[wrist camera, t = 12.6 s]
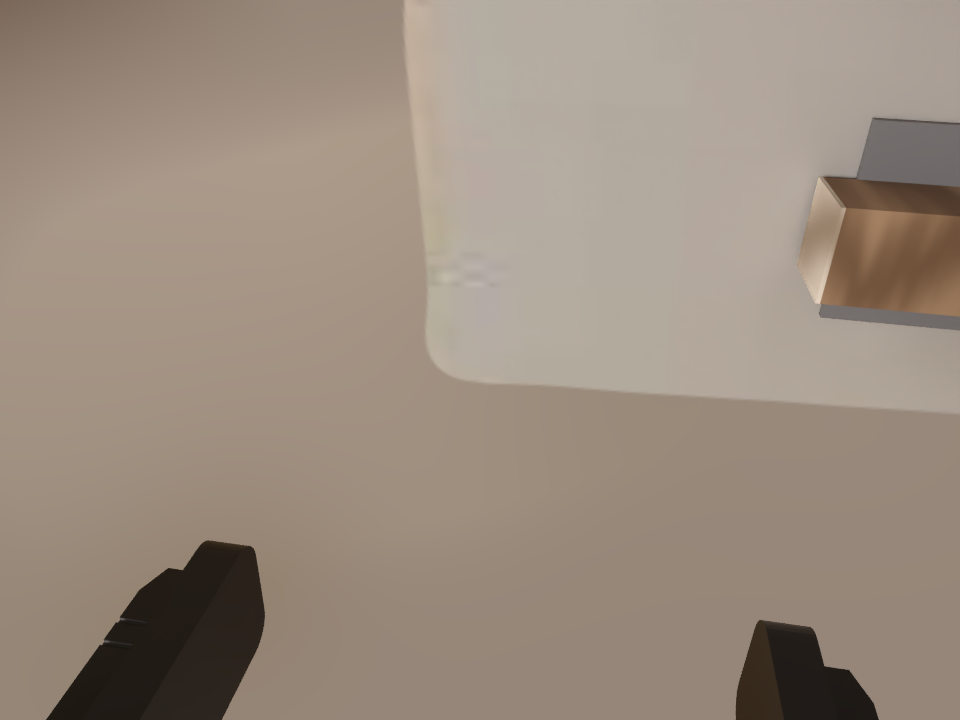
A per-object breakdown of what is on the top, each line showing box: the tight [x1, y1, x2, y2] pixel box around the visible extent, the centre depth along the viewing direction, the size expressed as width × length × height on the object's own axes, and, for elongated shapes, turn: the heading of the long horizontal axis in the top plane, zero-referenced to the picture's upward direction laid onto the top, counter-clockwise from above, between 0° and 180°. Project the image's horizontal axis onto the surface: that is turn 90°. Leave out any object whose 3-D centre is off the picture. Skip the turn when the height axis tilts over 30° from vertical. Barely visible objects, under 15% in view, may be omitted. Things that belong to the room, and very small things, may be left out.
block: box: [797, 177, 960, 317], centre depth 35 cm, size 4×4×12 cm
